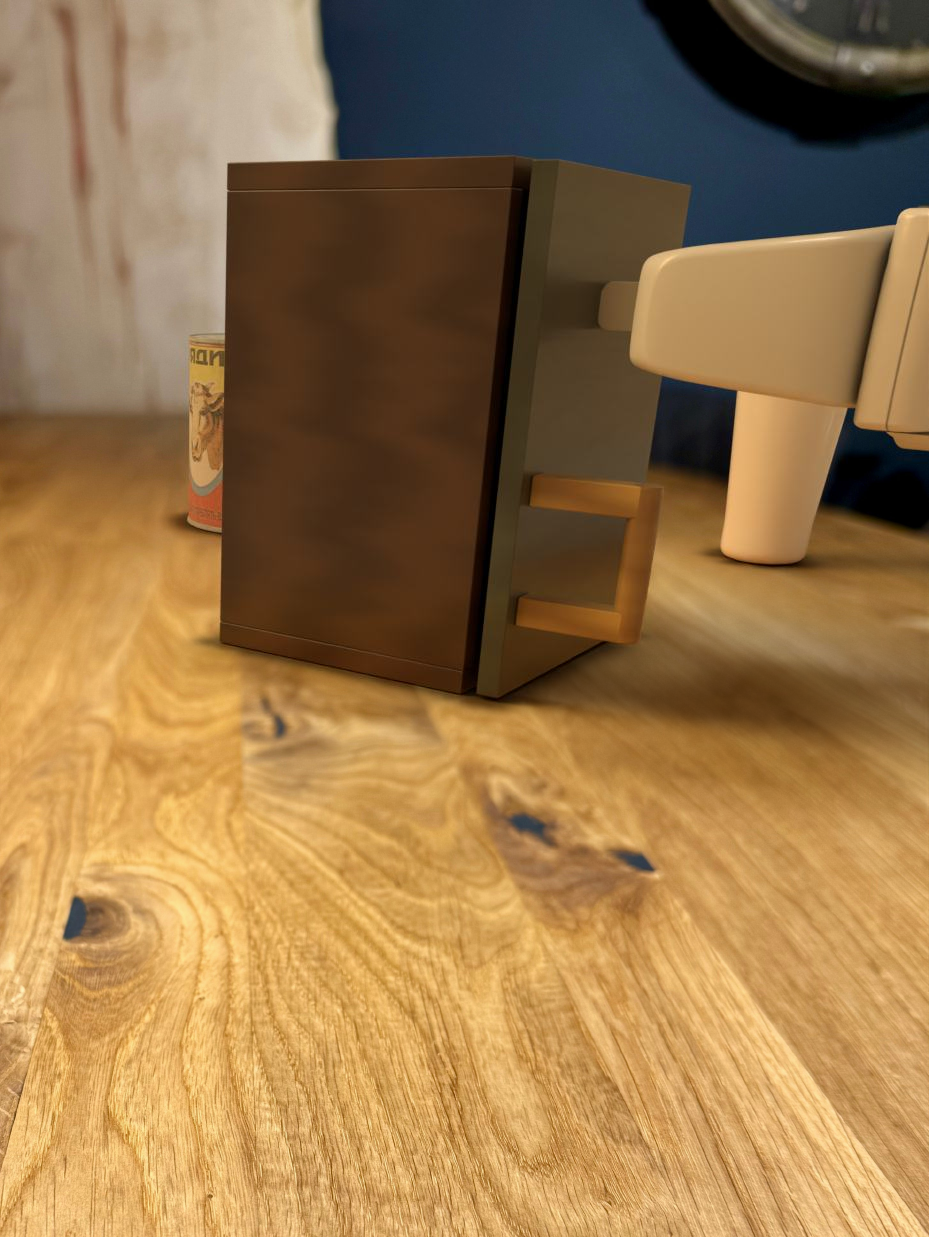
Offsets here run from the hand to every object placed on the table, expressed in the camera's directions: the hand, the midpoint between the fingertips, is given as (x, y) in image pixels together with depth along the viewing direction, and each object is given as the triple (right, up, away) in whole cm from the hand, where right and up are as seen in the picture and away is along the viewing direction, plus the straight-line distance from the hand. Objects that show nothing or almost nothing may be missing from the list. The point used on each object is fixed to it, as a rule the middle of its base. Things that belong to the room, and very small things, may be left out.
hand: (611, 305), depth 54 cm
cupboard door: (+2, -14, +6) cm, 15 cm away
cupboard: (-7, -11, +11) cm, 17 cm away
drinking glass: (+19, -2, +32) cm, 37 cm away
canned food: (-13, +3, +39) cm, 41 cm away
